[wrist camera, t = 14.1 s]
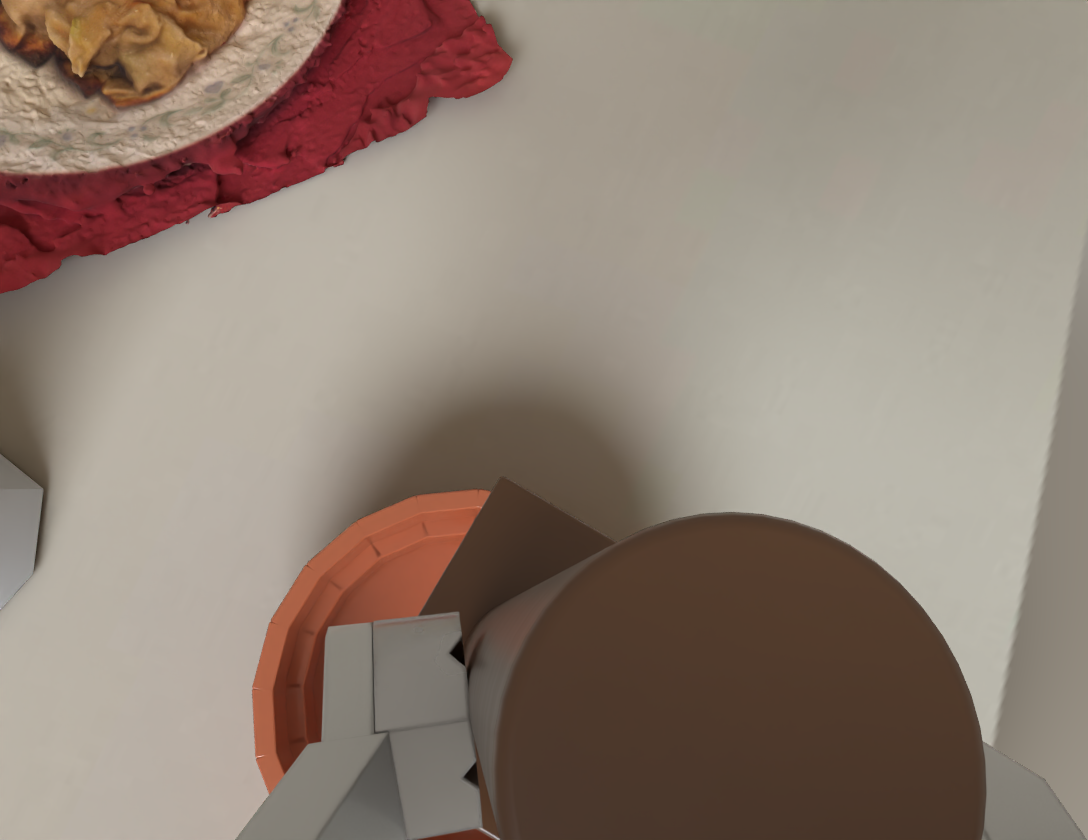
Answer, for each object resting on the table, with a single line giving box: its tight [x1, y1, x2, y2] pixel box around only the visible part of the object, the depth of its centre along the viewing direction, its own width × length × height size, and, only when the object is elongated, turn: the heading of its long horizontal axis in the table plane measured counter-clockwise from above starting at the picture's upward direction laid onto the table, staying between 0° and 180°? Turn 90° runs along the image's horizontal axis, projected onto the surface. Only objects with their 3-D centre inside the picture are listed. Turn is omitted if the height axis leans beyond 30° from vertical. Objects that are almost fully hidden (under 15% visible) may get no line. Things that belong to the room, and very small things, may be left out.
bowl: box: [252, 489, 494, 840], centre depth 31 cm, size 12×12×5 cm
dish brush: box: [418, 477, 987, 840], centre depth 12 cm, size 5×4×16 cm
